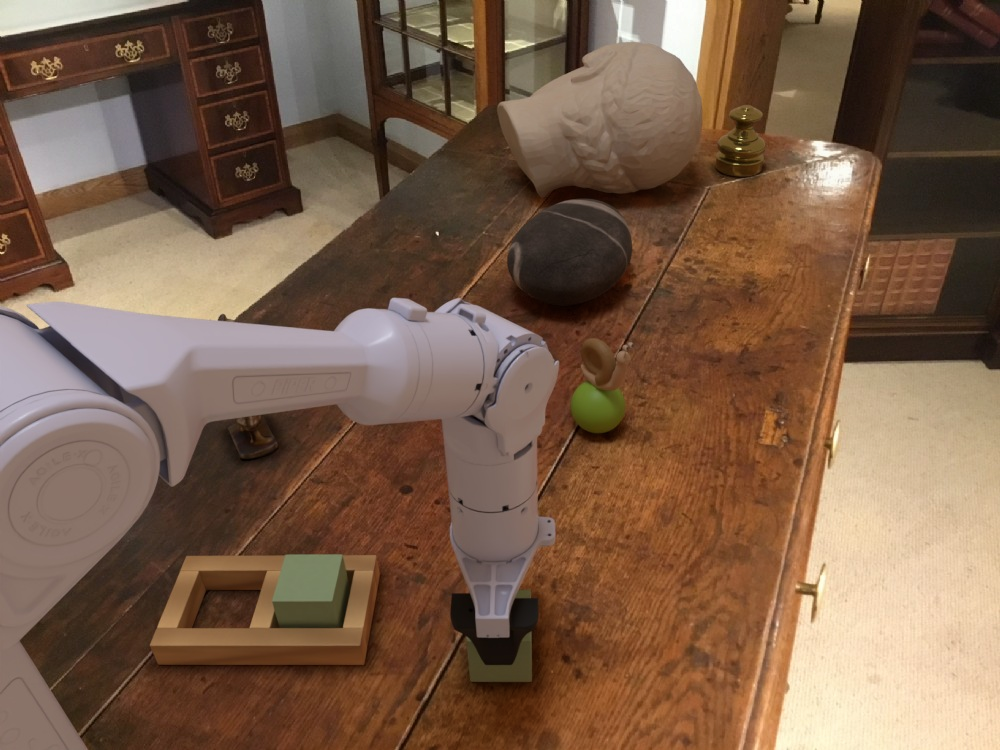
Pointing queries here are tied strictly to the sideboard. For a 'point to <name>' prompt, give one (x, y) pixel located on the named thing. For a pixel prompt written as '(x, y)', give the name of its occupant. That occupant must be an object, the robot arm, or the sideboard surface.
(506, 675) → the olive green cubic block
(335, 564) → the green cubic block
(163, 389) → the robot arm
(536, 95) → the bust
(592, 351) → the snail figurine
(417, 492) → the sideboard surface
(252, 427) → the figurine
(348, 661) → the backing frame
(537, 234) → the decorative stone
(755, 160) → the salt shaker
